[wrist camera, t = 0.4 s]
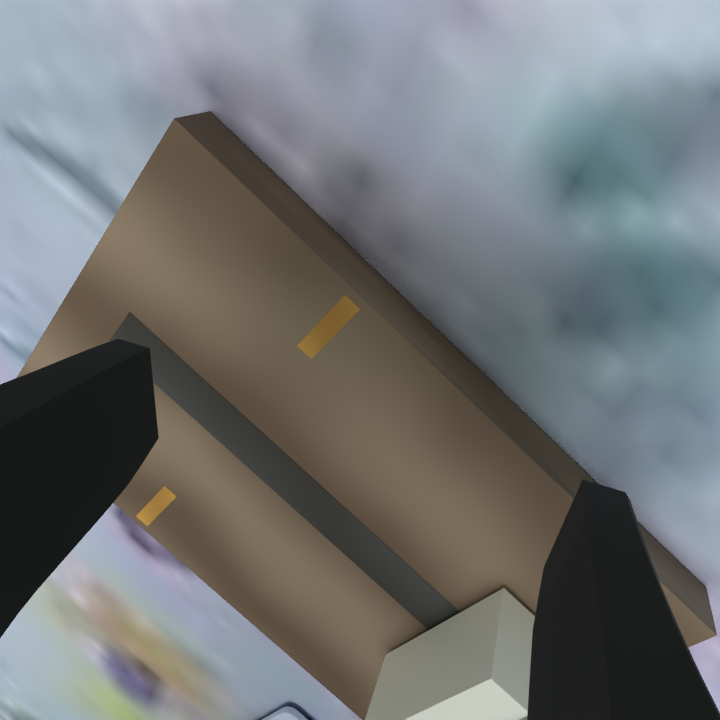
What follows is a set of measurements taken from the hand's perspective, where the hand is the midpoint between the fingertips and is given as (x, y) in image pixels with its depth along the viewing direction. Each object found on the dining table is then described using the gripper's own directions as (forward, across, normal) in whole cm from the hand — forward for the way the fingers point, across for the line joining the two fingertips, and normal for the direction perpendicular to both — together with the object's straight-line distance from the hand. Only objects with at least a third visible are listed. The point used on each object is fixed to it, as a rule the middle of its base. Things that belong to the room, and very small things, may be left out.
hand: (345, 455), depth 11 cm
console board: (+9, +3, +10) cm, 14 cm away
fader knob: (+6, -4, +14) cm, 16 cm away
